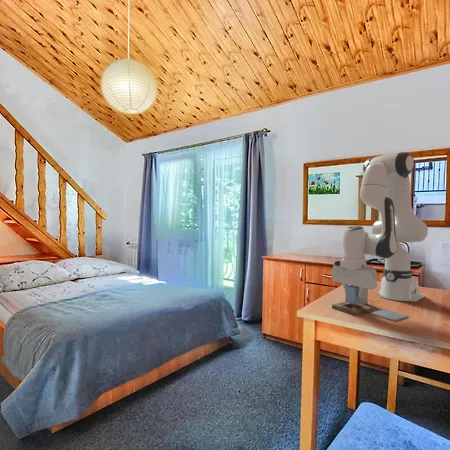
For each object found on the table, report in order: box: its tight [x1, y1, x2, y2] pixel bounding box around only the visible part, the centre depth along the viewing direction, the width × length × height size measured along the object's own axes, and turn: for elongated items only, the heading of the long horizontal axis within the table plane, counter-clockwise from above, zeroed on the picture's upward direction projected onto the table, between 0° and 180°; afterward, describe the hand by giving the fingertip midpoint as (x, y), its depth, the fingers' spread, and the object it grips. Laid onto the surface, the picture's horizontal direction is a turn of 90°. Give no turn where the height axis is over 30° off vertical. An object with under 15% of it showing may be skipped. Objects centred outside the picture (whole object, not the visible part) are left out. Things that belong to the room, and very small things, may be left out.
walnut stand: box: [331, 301, 375, 317], centre depth 135 cm, size 12×12×2 cm
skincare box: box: [359, 288, 369, 305], centre depth 145 cm, size 6×4×12 cm
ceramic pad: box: [370, 308, 409, 323], centre depth 127 cm, size 10×10×1 cm
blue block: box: [344, 284, 361, 304], centre depth 135 cm, size 4×4×7 cm
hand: (353, 295), depth 135 cm, fingers closed on blue block, 4 cm apart
